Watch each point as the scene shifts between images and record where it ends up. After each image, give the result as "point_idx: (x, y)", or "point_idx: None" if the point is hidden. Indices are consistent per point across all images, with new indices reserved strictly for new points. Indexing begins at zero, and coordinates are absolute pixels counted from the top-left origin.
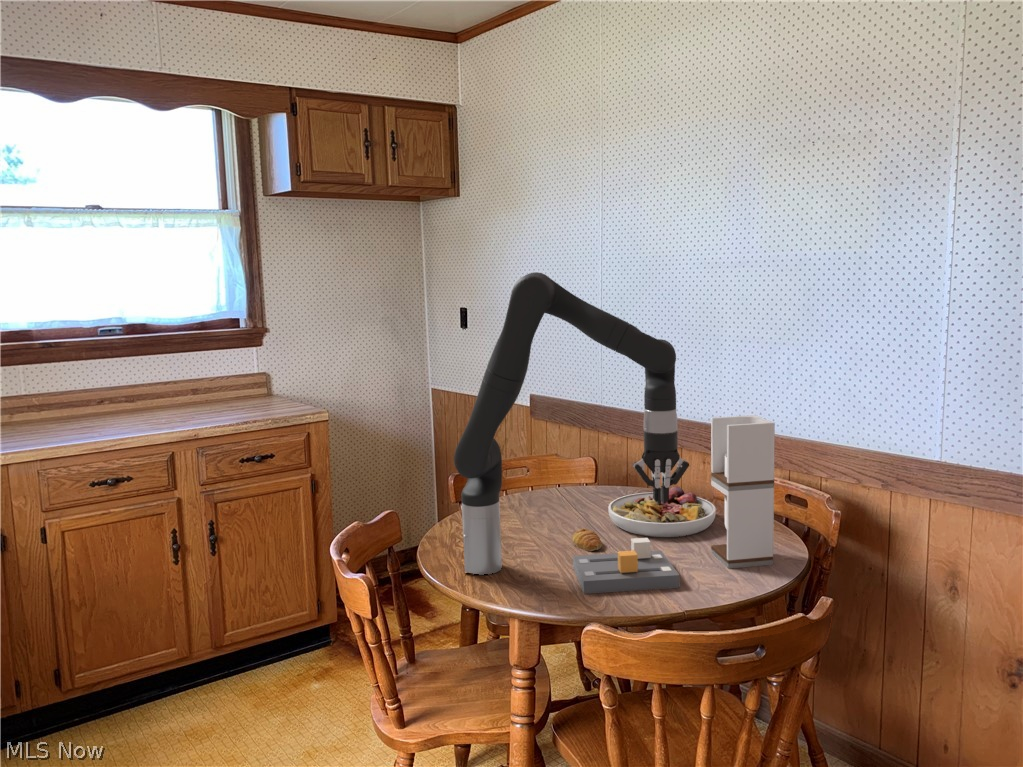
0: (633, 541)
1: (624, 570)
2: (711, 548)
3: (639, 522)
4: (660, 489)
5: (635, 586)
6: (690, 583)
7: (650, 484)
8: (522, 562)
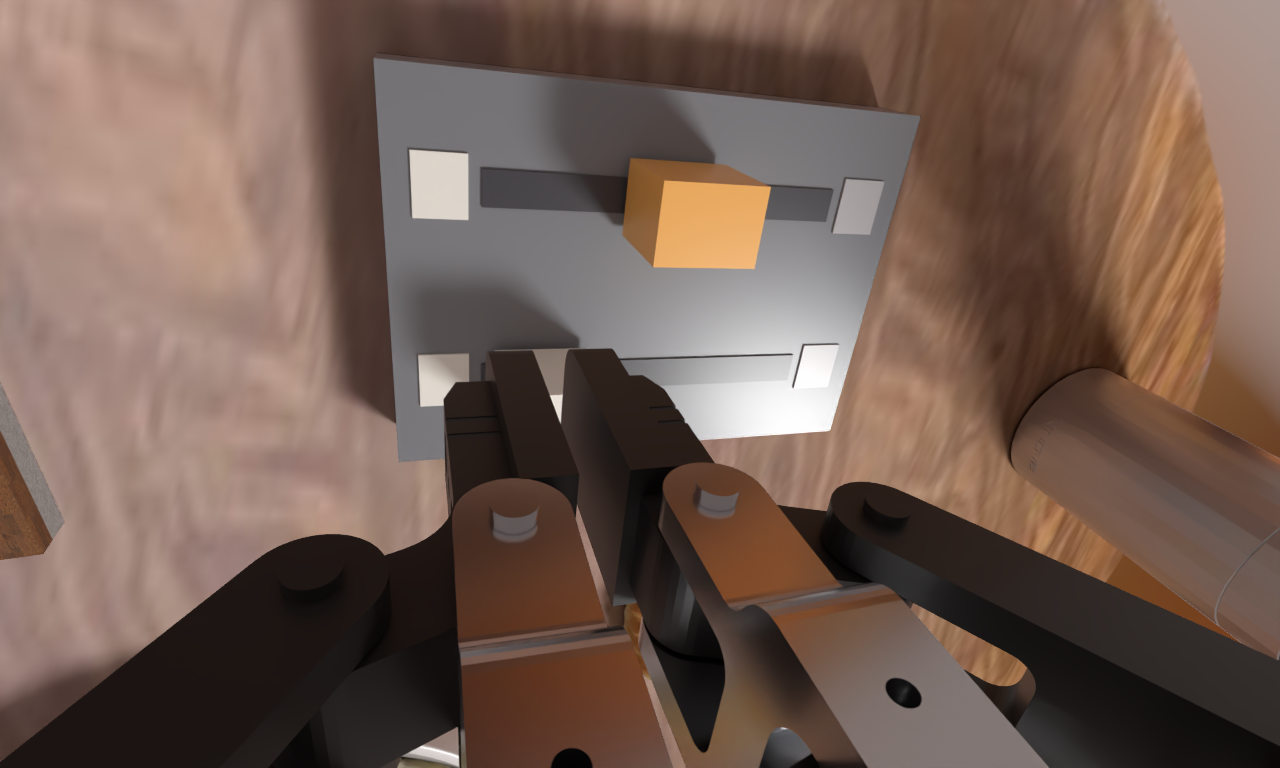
0: None
1: (709, 165)
2: (50, 539)
3: (437, 745)
4: (631, 459)
5: (647, 83)
6: (287, 104)
7: (866, 494)
8: (937, 466)
